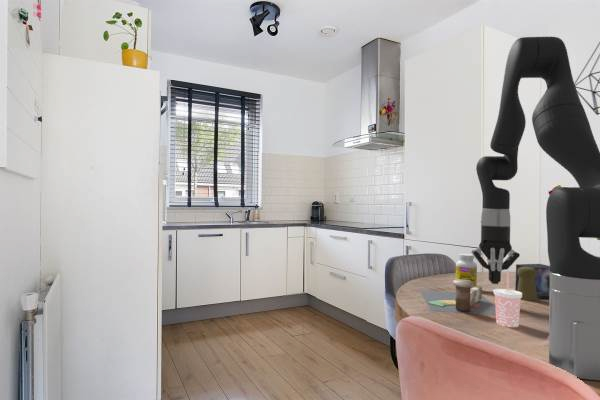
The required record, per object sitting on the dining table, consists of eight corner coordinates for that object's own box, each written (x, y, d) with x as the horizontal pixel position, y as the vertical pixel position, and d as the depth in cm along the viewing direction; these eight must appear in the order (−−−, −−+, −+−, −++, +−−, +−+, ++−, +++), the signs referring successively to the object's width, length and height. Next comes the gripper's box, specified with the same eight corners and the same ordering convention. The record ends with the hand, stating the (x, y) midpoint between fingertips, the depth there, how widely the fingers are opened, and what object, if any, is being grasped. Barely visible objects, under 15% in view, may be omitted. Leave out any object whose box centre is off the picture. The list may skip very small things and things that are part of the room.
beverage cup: (487, 326, 89) (487, 269, 90) (504, 323, 92) (504, 268, 92) (510, 334, 84) (511, 273, 84) (527, 331, 86) (528, 272, 86)
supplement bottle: (456, 292, 124) (457, 255, 124) (454, 288, 130) (454, 252, 130) (478, 294, 122) (478, 256, 122) (474, 290, 128) (475, 253, 128)
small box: (531, 300, 116) (531, 267, 116) (514, 295, 122) (514, 264, 122) (556, 298, 118) (557, 266, 118) (538, 293, 125) (539, 263, 125)
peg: (469, 312, 95) (469, 283, 95) (450, 309, 98) (451, 281, 98) (487, 300, 108) (487, 274, 108) (470, 297, 111) (470, 272, 111)
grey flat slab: (507, 320, 94) (507, 314, 94) (431, 314, 98) (431, 309, 98) (480, 297, 118) (480, 292, 118) (419, 293, 121) (419, 289, 121)
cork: (541, 306, 109) (542, 269, 109) (519, 304, 110) (520, 268, 110) (533, 300, 115) (533, 266, 115) (512, 299, 116) (512, 265, 116)
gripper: (474, 224, 104) (473, 285, 104) (525, 225, 101) (524, 287, 101) (468, 222, 111) (467, 279, 111) (515, 224, 109) (514, 281, 109)
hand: (494, 283), depth 106 cm, fingers closed
